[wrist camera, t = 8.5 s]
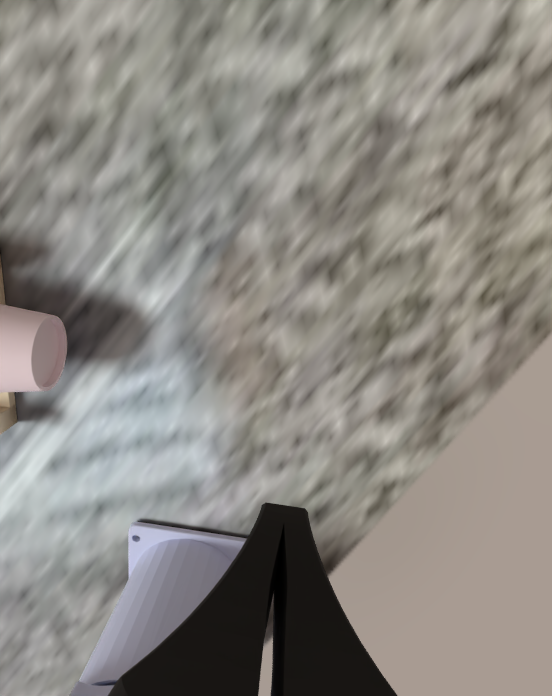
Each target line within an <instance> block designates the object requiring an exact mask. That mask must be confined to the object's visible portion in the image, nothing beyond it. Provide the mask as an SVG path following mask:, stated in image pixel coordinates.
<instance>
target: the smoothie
mask: <svg viewBox="0 0 552 696" xmlns="http://www.w3.org/2000/svg"><path fill="white" fill-rule="evenodd" d="M66 355H67V336H66V331H65V327H64V324H63V322H62V321H61V319H60V318H59V317H57V316H55V315H50V314H46V313H41V312H36V311H31V310H27V309H22V308H17V307H12V306H7V305H3V304H0V393H3V392H30V391H48V390H50V389H52V388H53V387H54V386H55V385H56V384H57V382H58V381H59V379H60V377H61V375H62V372H63V369H64V366H65V361H66Z"/></svg>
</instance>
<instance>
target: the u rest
mask: <svg viewBox="0 0 552 696" xmlns="http://www.w3.org/2000/svg"><path fill="white" fill-rule="evenodd" d="M0 304H3V305H6V304H5V294H4V285H3V275H2V265H1V255H0ZM15 423H17V413H16V403H15V393H14V392H3V393H0V434H2V433H3V432H4V431H6V430H7V429H9V428H10V427H11V426H13V425H14V424H15Z"/></svg>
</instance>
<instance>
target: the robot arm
mask: <svg viewBox="0 0 552 696" xmlns="http://www.w3.org/2000/svg"><path fill="white" fill-rule="evenodd" d="M135 535H137V536H139V537H136V536H135ZM273 593H274V615H273V668H272V669H273V670H272V687H271V696H397V695H396V693H395V692H394V690H393V689H392V688H391V686H390V685H389V684H388V682H387V681H386V679H385V678H384V677H383V675H382V674H381V672H380V671H379V669H378V668H377V666H376V665H375V663H374V661H373V660H372V658H371V657H370V655H369V654H368V652H367V651H366V649H365V648H364V646H363V645H362V643H361V641H360V640H359V638H358V636H357V635H356V633H355V631H354V629H353V628H352V626H351V624H350V623H349V620H348V619H347V617H346V615H345V613H344V611H343V609H342V607H341V605H340V603H339V601H338V599H337V597H336V595H335V593H334V591H333V588H332V586H331V584H330V581H329V579H328V577H327V574H326V572H325V569H324V567H323V564H322V561H321V559H320V556H319V553H318V550H317V547H316V544H315V541H314V538H313V535H312V531H311V527H310V523H309V518H308V512H307V511H306V509H305V508H298V507H292V506H285V505H279V504H272V503H265V504H263V505H262V507H261V511H260V513H259V516H258V518H257V521H256V523H255V525H254V527H253V529H252V531H251V533H250V534H249V536H248V538H240V537H234V536H227V535H221V534H214V533H208V532H201V531H195V530H188V529H182V528H175V527H168V526H162V525H155V524H149V523H142V522H134V523H132V524H131V526H130V528H129V580H128V582H127V584H126V586H125V588H124V590H123V592H122V594H121V596H120V598H119V600H118V602H117V604H116V606H115V608H114V610H113V612H112V614H111V616H110V618H109V620H108V623H107V625H106V627H105V629H104V631H103V633H102V635H101V637H100V639H99V641H98V643H97V645H96V647H95V649H94V651H93V653H92V655H91V657H90V659H89V661H88V663H87V665H86V667H85V669H84V671H83V673H82V675H81V677H80V680H79V681H78V682H76V683H75V685H74V687H73V689H72V691H71V693H70V695H69V696H258V691H259V681H260V671H261V662H262V652H263V643H264V637H265V632H266V627H267V622H268V617H269V612H270V607H271V602H272V597H273Z"/></svg>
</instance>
